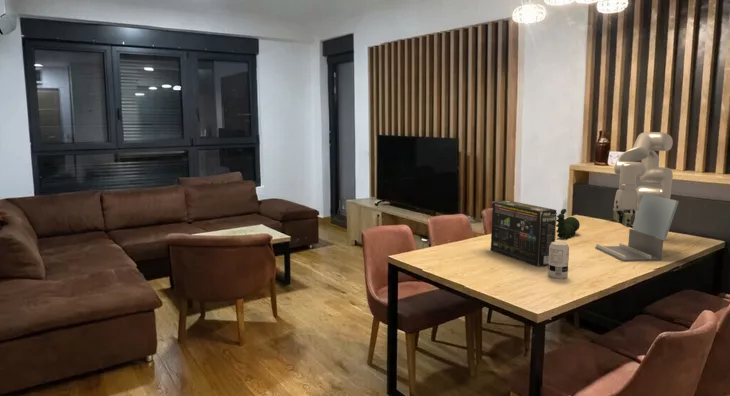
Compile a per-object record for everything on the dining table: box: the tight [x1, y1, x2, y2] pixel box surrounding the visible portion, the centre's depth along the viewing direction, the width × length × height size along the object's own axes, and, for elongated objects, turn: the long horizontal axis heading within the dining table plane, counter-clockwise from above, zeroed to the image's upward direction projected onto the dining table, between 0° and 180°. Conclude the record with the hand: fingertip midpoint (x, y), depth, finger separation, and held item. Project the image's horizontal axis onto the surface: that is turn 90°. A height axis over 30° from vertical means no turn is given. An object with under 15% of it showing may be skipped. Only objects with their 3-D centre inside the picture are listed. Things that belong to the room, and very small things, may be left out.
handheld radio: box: [613, 209, 633, 229], centre depth 260 cm, size 7×3×25 cm
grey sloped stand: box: [594, 228, 664, 263], centre depth 262 cm, size 20×26×10 cm
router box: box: [490, 200, 558, 267], centre depth 257 cm, size 36×11×27 cm, turn 26°
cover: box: [631, 193, 680, 241], centre depth 261 cm, size 20×26×1 cm
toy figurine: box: [555, 208, 581, 239], centre depth 302 cm, size 9×19×25 cm
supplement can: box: [547, 241, 570, 280], centre depth 225 cm, size 8×8×15 cm
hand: (624, 222), depth 260 cm, fingers closed on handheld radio, 2 cm apart
